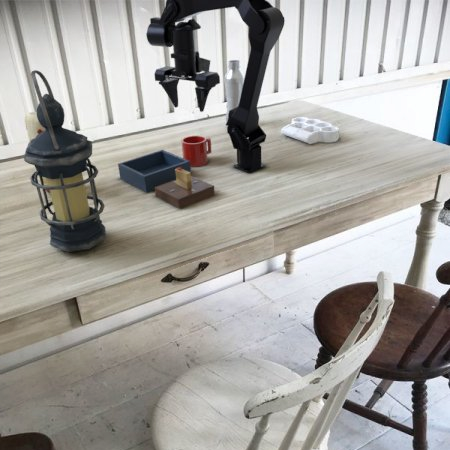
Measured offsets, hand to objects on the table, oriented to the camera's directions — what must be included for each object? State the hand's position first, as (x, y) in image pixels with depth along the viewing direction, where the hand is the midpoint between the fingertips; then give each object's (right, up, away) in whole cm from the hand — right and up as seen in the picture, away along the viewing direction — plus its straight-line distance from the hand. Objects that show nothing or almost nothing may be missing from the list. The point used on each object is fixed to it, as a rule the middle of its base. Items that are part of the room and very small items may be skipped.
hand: (189, 109), depth 146 cm
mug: (+3, -14, +4) cm, 14 cm away
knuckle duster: (+37, -2, +18) cm, 41 cm away
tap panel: (0, -27, -15) cm, 31 cm away
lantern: (-21, -41, -33) cm, 57 cm away
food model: (-34, -25, -10) cm, 43 cm away
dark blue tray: (-9, -20, -5) cm, 23 cm away
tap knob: (0, -25, -17) cm, 30 cm away
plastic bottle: (+14, +5, +29) cm, 32 cm away
